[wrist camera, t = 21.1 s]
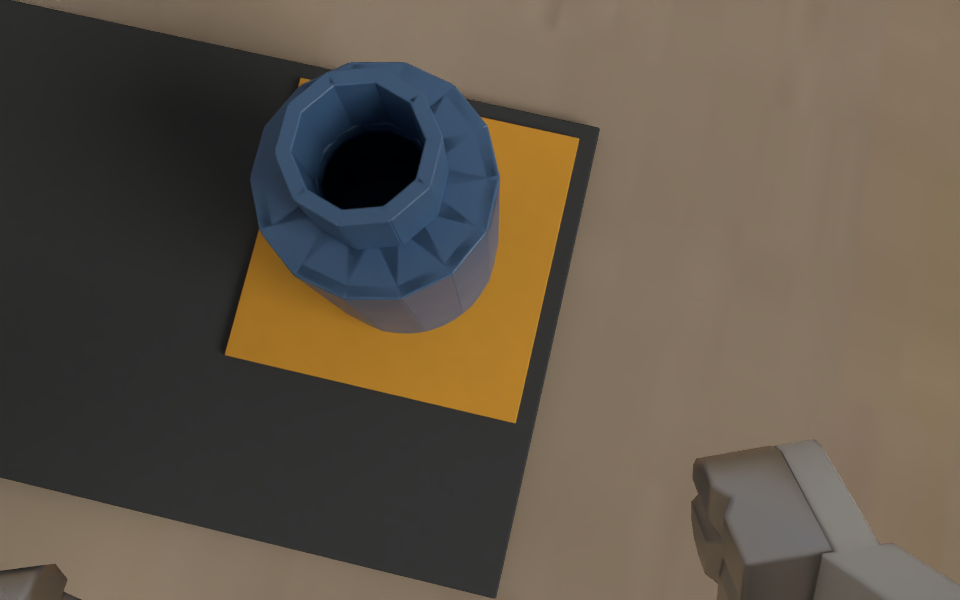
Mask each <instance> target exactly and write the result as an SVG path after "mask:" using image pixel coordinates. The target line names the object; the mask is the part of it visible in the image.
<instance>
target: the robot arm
mask: <svg viewBox="0 0 960 600" xmlns="http://www.w3.org/2000/svg"><path fill="white" fill-rule="evenodd" d="M693 481H694V484H695V486H696V489H697V492H698V495H697V496H696V497H695V498H694V499H693V501H692V502H691V520H692V527H693V534H694V540H695V544H696V547H697V551H698V555H699V558H700V561H701V563H702V566H703V569H704V572H705V574H706V575H707V576H709V577H710V578H711V579H713V580H714V581H715V582H717V583H718V593H717V600H960V585H958V584H957V583H955V582H954V581H952V580H950V579H949V578H947V577H946V576H944V575H943V574H941V573H939V572H938V571H936V570H935V569H933V568H932V567H930V566H928V565H927V564H925V563H924V562H922V561H920V560H919V559H917V558H916V557H914V556H913V555H911V554H909V553H908V552H906V551H905V550H903V549H901V548H900V547H898V546H897V545H895V544H894V543H887V544H880V543H879V541H878V540H877V538H876V536H875V535H874V533H873V531H872V530H871V528H870V526H869V524H868V523H867V521H866V519H865V518H864V516H863V514H862V513H861V511H860V509H859V508H858V506H857V504H856V502H855V501H854V499H853V497H852V496H851V494H850V492H849V491H848V489H847V487H846V486H845V484H844V482H843V480H842V479H841V477H840V475H839V474H838V472H837V470H836V469H835V467H834V465H833V464H832V462H831V460H830V458H829V457H828V455H827V453H826V452H825V450H824V448H823V447H822V445H821V444H820V443H818V442H817V441H816V440H807V441H801V442H795V443H789V444H782V445H776V446H773V447H772V446H766V447H760V448H754V449H748V450H743V451H737V452H731V453H726V454H720V455H714V456H708V457H703V458H697V459H696V460H695V462H694V465H693ZM66 582H67V578H66V577H65V576H64V574H63V573H62V572H61V570H60V569H59V568H58V567H57V565H56V564H50V565H41V566H33V567H26V568H18V569H11V570H4V571H0V600H81V599H79V598H76V597H74V596H72V595H70V594H67V593H65V592H63V591H64V588H65V585H66Z"/></svg>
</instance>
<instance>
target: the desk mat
mask: <svg viewBox="0 0 960 600" xmlns="http://www.w3.org/2000/svg"><path fill="white" fill-rule="evenodd" d="M328 71H332V70H330V69H325V68H321V67H316V66H311V65H307V64H302V63H297V62H293V61H288V60H284V59H279V58H274V57H270V56H265V55H261V54H256V53H251V52H247V51H242V50H237V49H233V48H228V47H224V46H219V45H214V44H210V43H205V42H201V41H196V40H191V39H187V38H182V37H178V36H173V35H168V34H164V33H159V32H154V31H150V30H145V29H141V28H136V27H131V26H127V25H122V24H118V23H113V22H108V21H104V20H99V19H95V18H90V17H85V16H81V15H76V14H71V13H67V12H62V11H58V10H53V9H48V8H44V7H39V6H35V5H30V4H25V3H21V2H16V1H12V0H0V477H1V478H5V479H9V480H13V481H17V482H21V483H25V484H29V485H33V486H38V487H42V488H46V489H50V490H54V491H58V492H62V493H66V494H70V495H74V496H78V497H82V498H86V499H91V500H95V501H99V502H103V503H107V504H111V505H115V506H119V507H123V508H127V509H131V510H135V511H139V512H144V513H148V514H152V515H156V516H160V517H164V518H168V519H172V520H176V521H180V522H184V523H188V524H192V525H197V526H201V527H205V528H209V529H213V530H217V531H221V532H225V533H229V534H233V535H237V536H241V537H245V538H250V539H254V540H258V541H262V542H266V543H270V544H274V545H278V546H282V547H286V548H290V549H294V550H298V551H303V552H307V553H311V554H315V555H319V556H323V557H327V558H331V559H335V560H339V561H343V562H347V563H351V564H356V565H360V566H364V567H368V568H372V569H376V570H380V571H384V572H388V573H392V574H396V575H400V576H404V577H408V578H413V579H417V580H421V581H425V582H429V583H433V584H437V585H441V586H445V587H449V588H453V589H457V590H461V591H466V592H470V593H474V594H478V595H482V596H486V597H490V598H496V596H497V591H498V587H499V582H500V578H501V573H502V569H503V564H504V560H505V555H506V551H507V546H508V541H509V537H510V532H511V528H512V523H513V519H514V514H515V510H516V505H517V501H518V496H519V492H520V487H521V483H522V478H523V474H524V469H525V465H526V460H527V456H528V451H529V447H530V442H531V438H532V433H533V429H534V424H535V420H536V415H537V411H538V406H539V402H540V397H541V393H542V388H543V384H544V379H545V374H546V370H547V365H548V361H549V356H550V352H551V347H552V343H553V338H554V334H555V329H556V325H557V320H558V316H559V311H560V307H561V302H562V298H563V293H564V289H565V284H566V280H567V275H568V271H569V266H570V262H571V257H572V253H573V248H574V244H575V239H576V235H577V230H578V226H579V221H580V217H581V212H582V207H583V203H584V198H585V194H586V189H587V185H588V180H589V176H590V171H591V167H592V162H593V158H594V153H595V149H596V144H597V140H598V135H599V131H600V129H599V128H597V127H593V126H588V125H583V124H579V123H574V122H570V121H565V120H560V119H556V118H551V117H546V116H542V115H537V114H533V113H528V112H523V111H519V110H514V109H510V108H505V107H500V106H496V105H491V104H487V103H482V102H477V101H473V100H468V99H466V100H467V101H468V102H469V104H470V105H471V106H472V107H473V108H474V110H475V111H476V112H477V113H478V115H479V116H480V117H481V118H482V119H483V121H484V122H485V123H486V124H487V127H488V128H489V132H490V136H491V141H492V145H493V149H494V153H495V158H496V162H497V166H498V170H499V175H500V200H499V238H498V247H497V251H496V256H495V262H494V267H493V270H492V273H491V277H490V281H489V283H488V284H487V285H486V287H485V289H484V290H483V292H482V293H481V295H480V297H479V298H478V299H477V300H476V301H475V303H474V304H473V305H472V306H471V307H470V308H469V309H468V310H467V311H466V312H465V313H463V314H462V315H461V316H459V317H458V318H456V319H455V320H453V321H451V322H450V323H448V324H446V325H444V326H441V327H439V328H436V329H433V330H429V331H425V332H420V333H410V334H408V333H394V332H384V331H381V330H379V329H377V328H374V327H372V326H370V325H368V324H365V323H364V322H362V321H360V320H358V319H356V318H354V317H352V316H350V315H348V314H347V313H345V312H344V311H342V310H341V309H340V308H338V307H337V306H336V305H334V304H333V303H331V302H330V301H329V300H327V299H326V298H324V297H323V296H322V295H320V294H319V293H317V292H316V291H315V290H313V289H312V288H311V287H309V286H308V285H306V284H305V283H304V282H302V281H301V280H299V279H298V278H297V277H295V276H294V275H293V274H292V273H291V272H290V270H289V269H288V268H287V267H286V265H285V264H284V263H283V261H282V260H281V259H280V258H279V256H278V255H277V254H276V252H275V251H274V250H273V248H272V247H271V246H270V245H269V243H268V242H267V241H266V239H265V238H264V237H263V235H262V234H261V232H260V230H259V225H258V219H257V214H256V209H255V204H254V198H253V193H252V188H251V183H250V176H251V172H252V169H253V165H254V162H255V158H256V154H257V151H258V147H259V144H260V140H261V136H262V133H263V129H264V127H265V125H266V124H267V123H268V122H269V120H270V119H271V118H272V117H273V116H274V115H275V114H276V112H277V111H278V110H279V109H280V108H281V107H282V105H283V104H284V103H285V102H286V101H287V100H288V98H289V97H290V96H291V95H292V94H293V93H294V92H295V90H296V89H297V88H298V87H299V86H301V85H302V84H304V83H306V82H308V81H310V80H312V79H315V78H317V77H319V76H321V75H323V74H325V73H326V72H328Z"/></svg>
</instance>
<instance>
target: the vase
mask: <svg viewBox="0 0 960 600" xmlns="http://www.w3.org/2000/svg"><path fill="white" fill-rule="evenodd" d="M250 183H251V188H252V193H253V198H254V204H255V209H256V214H257V219H258V225H259V230H260V232H261V234H262V235H263V237H264V238H265V239H266V241H267V242H268V243H269V245H270V246H271V247H272V248H273V250H274V251H275V252H276V254H277V255H278V256H279V258H280V259H281V260H282V261H283V263H284V264H285V265H286V267H287V268H288V269H289V270H290V272H291V273H292V274H293V275H294V276H295V277H297V278H298V279H299V280H301V281H302V282H304V283H305V284H306V285H308V286H309V287H311V288H312V289H313V290H315V291H316V292H317V293H319V294H320V295H322V296H323V297H324V298H326V299H327V300H329V301H330V302H331V303H333V304H334V305H336V306H337V307H338V308H340V309H341V310H342V311H344V312H345V313H347V314H348V315H350V316H352V317H354V318H356V319H358V320H360V321H362V322H364V323H365V324H368V325H370V326H372V327H374V328H377V329H379V330H381V331H384V332H394V333H408V334H410V333H420V332H425V331H429V330H433V329H436V328H439V327H441V326H444V325H446V324H448V323H450V322H451V321H453V320H455V319H456V318H458V317H459V316H461V315H462V314H463V313H465V312H466V311H467V310H468V309H469V308H470V307H471V306H472V305H473V304H474V303H475V301H476V300H477V299H478V298H479V297H480V295H481V293H482V292H483V290H484V289H485V287H486V285H487V284H488V283H489V281H490V277H491V273H492V270H493V267H494V262H495V256H496V251H497V247H498V238H499V200H500V175H499V170H498V166H497V162H496V158H495V153H494V149H493V145H492V141H491V136H490V132H489V128H488V127H487V124H486V123H485V122H484V121H483V119H482V118H481V117H480V116H479V115H478V113H477V112H476V111H475V110H474V108H473V107H472V106H471V105H470V104H469V102H468V101H467V100H466V99H465V98H464V96H463V95H462V94H461V93H460V92H459V90H458V89H457V88H456V87H455V86H454V85H453V84H451V83H449V82H447V81H445V80H442V79H440V78H438V77H436V76H434V75H432V74H429V73H427V72H425V71H423V70H421V69H418V68H416V67H414V66H412V65H410V64H408V63H404V62H351V63H347V64H345V65H343V66H341V67H339V68H336V69H334V70H332V71H328V72H326V73H325V74H323V75H321V76H319V77H317V78H315V79H312V80H310V81H308V82H306V83H304V84H302V85H301V86H299V87H298V88H297V89H296V90H295V92H294V93H293V94H292V95H291V96H290V97H289V98H288V100H287V101H286V102H285V103H284V104H283V105H282V107H281V108H280V109H279V110H278V111H277V112H276V114H275V115H274V116H273V117H272V118H271V119H270V120H269V122H268V123H267V124H266V125H265V127H264V129H263V133H262V136H261V140H260V144H259V147H258V151H257V154H256V158H255V162H254V165H253V169H252V172H251V176H250Z"/></svg>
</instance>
